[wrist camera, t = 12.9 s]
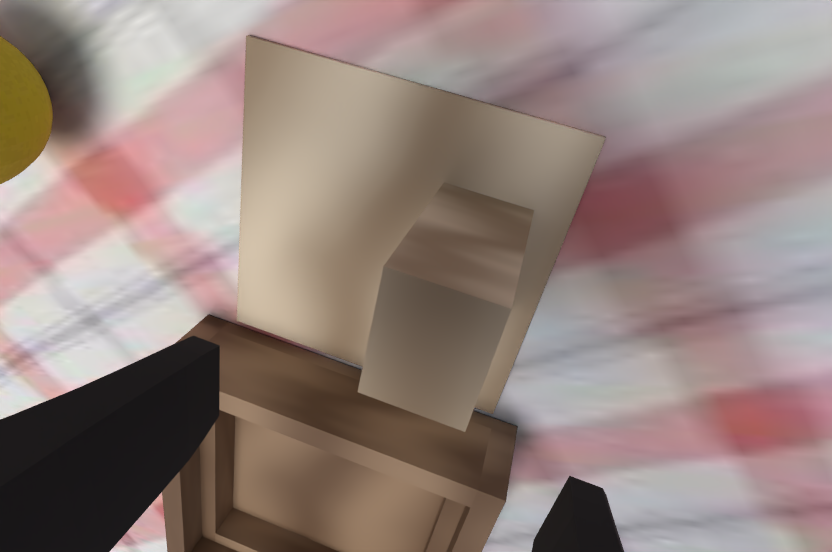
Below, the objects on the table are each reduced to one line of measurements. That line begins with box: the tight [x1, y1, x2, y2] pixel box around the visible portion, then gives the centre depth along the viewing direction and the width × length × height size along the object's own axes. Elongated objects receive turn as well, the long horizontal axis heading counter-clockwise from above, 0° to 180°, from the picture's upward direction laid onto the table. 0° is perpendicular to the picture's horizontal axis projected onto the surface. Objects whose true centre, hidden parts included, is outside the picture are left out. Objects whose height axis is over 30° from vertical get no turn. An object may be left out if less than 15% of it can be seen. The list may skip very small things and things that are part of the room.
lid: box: [237, 35, 606, 432], centre depth 16 cm, size 11×11×7 cm
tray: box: [162, 315, 517, 552], centre depth 25 cm, size 14×18×4 cm
